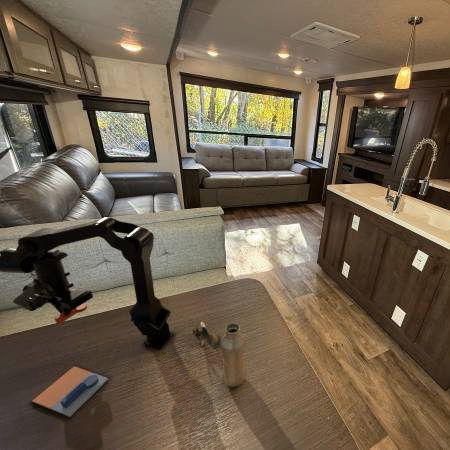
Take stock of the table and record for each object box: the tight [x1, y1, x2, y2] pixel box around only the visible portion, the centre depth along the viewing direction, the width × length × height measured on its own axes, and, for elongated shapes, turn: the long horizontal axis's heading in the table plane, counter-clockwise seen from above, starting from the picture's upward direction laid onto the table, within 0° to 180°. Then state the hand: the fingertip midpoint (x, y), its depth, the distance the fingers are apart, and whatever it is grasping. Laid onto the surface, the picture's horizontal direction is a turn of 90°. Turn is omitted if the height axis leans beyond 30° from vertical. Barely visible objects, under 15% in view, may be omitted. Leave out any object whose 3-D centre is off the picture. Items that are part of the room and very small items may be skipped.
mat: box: [31, 365, 109, 418], centre depth 66 cm, size 12×10×1 cm
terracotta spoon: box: [54, 302, 88, 325], centre depth 77 cm, size 8×3×2 cm, turn 165°
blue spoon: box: [60, 374, 98, 408], centre depth 65 cm, size 8×3×2 cm, turn 166°
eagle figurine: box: [187, 321, 221, 348], centre depth 82 cm, size 8×7×9 cm
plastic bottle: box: [219, 322, 247, 388], centre depth 68 cm, size 6×7×20 cm
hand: (66, 314), depth 76 cm, fingers closed on terracotta spoon, 1 cm apart
